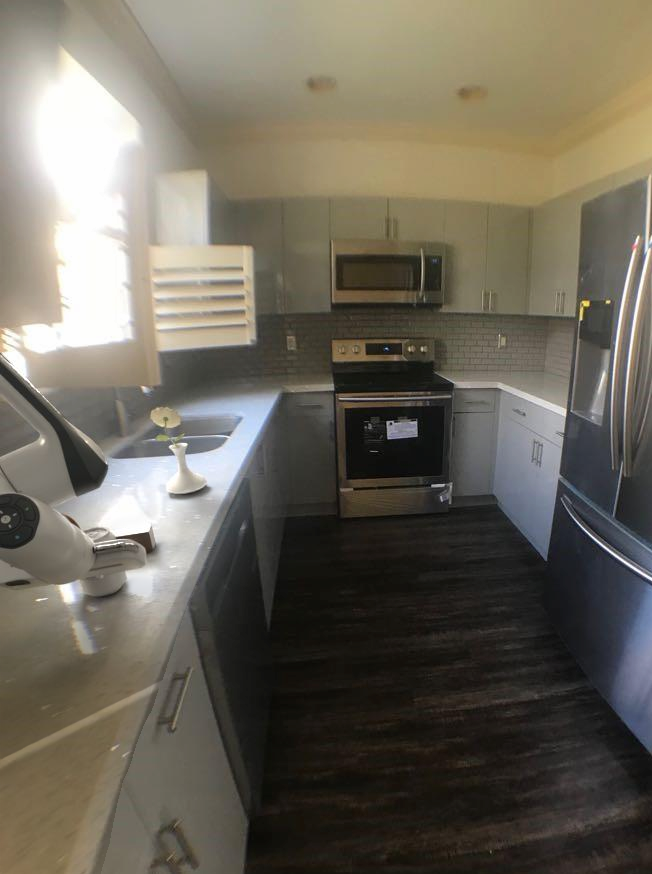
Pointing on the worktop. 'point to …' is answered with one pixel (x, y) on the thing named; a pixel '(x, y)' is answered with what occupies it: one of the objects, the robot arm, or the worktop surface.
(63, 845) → the worktop surface
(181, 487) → the flower in vase
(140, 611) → the worktop surface
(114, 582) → the can
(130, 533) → the brown rectangular block
